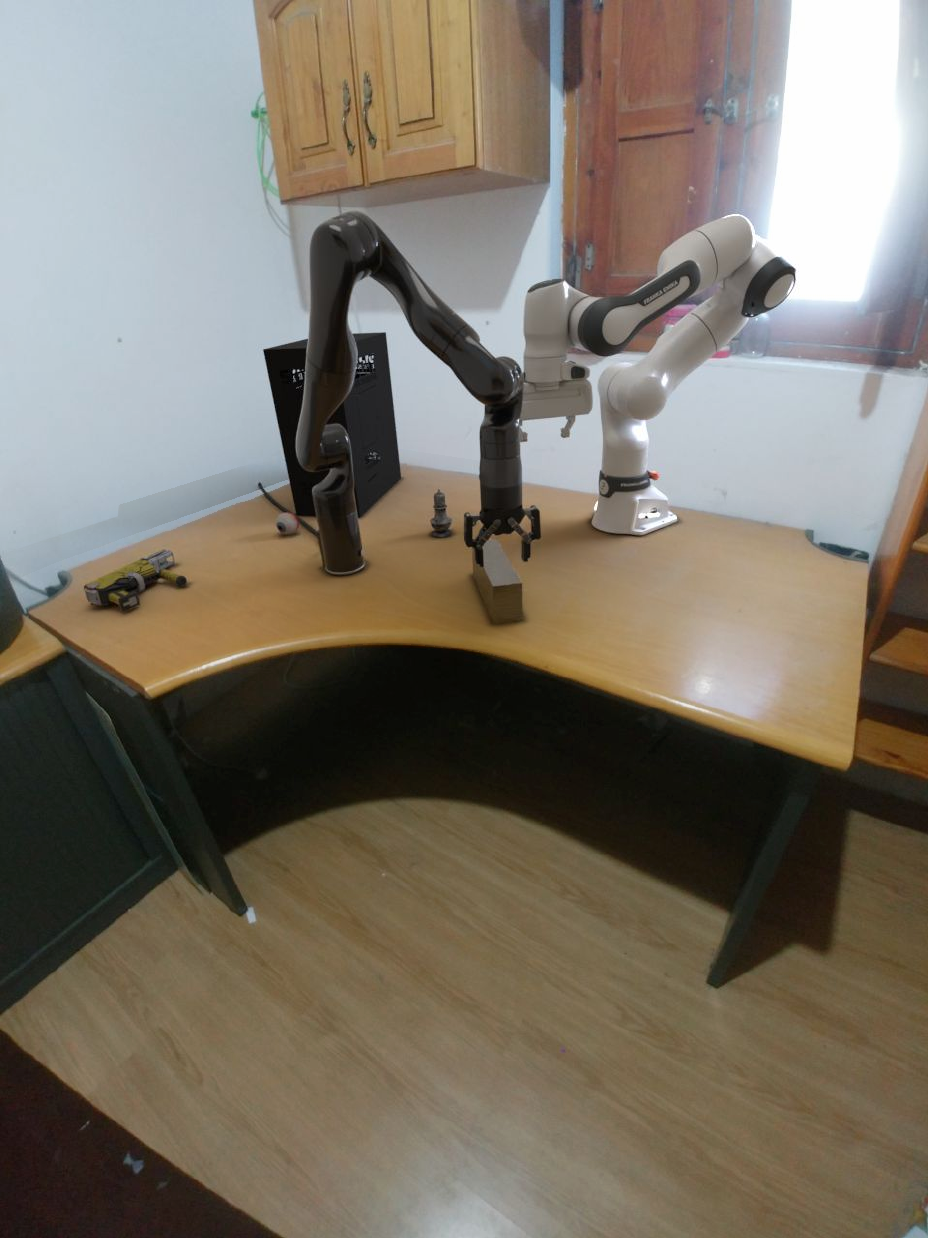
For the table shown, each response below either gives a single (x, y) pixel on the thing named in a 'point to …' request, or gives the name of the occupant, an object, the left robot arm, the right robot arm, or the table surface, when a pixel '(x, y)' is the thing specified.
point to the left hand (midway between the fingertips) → (503, 562)
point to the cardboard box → (340, 420)
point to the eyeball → (287, 523)
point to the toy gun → (132, 581)
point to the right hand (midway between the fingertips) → (544, 439)
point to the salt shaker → (440, 517)
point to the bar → (498, 584)
